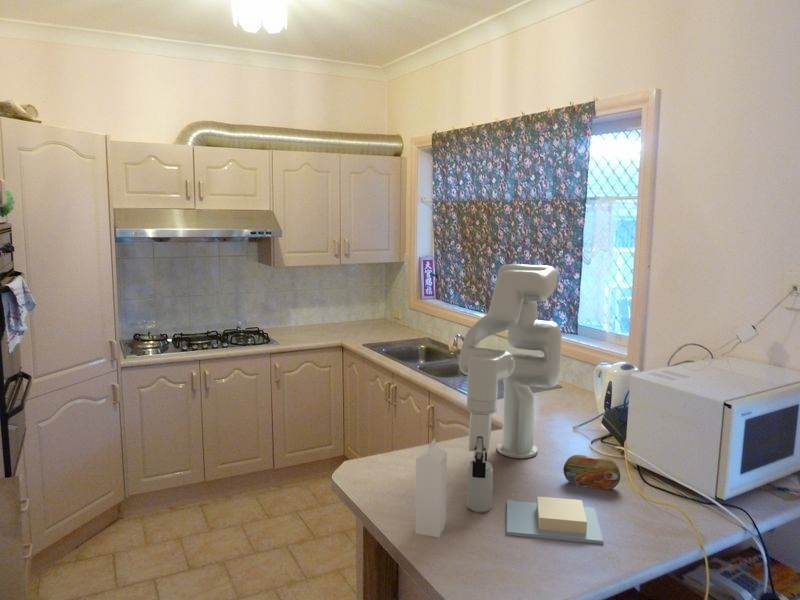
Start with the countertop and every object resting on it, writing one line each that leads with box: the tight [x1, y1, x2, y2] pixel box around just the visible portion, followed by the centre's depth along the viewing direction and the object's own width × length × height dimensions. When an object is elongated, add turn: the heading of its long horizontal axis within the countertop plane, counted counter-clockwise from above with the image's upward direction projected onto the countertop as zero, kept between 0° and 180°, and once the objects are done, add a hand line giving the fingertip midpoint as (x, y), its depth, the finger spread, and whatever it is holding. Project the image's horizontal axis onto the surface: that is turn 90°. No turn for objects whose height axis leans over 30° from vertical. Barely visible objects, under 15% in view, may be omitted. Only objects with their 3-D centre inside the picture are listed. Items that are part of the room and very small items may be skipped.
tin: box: [562, 454, 621, 491], centre depth 172 cm, size 15×3×8 cm, turn 70°
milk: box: [414, 438, 448, 539], centre depth 147 cm, size 6×6×22 cm
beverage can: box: [466, 460, 494, 514], centre depth 159 cm, size 6×6×12 cm
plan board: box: [506, 496, 604, 545], centre depth 152 cm, size 16×22×4 cm
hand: (479, 469), depth 157 cm, fingers open, 9 cm apart
